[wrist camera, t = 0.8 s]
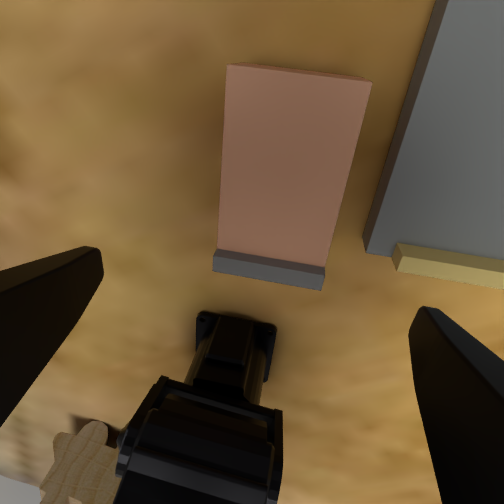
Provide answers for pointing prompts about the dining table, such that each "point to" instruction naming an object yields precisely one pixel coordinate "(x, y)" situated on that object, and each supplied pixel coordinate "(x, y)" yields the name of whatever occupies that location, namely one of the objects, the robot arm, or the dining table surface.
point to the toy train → (82, 468)
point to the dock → (448, 154)
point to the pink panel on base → (285, 170)
